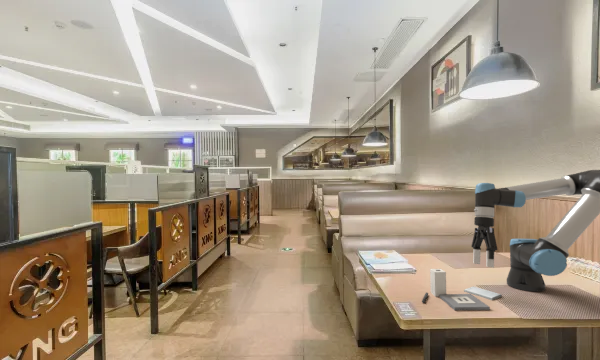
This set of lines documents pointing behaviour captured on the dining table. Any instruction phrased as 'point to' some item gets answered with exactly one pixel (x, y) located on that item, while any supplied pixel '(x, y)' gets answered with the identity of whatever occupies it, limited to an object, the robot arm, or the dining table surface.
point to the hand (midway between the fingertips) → (483, 265)
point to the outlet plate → (463, 302)
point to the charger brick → (438, 282)
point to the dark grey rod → (425, 297)
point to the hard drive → (483, 293)
